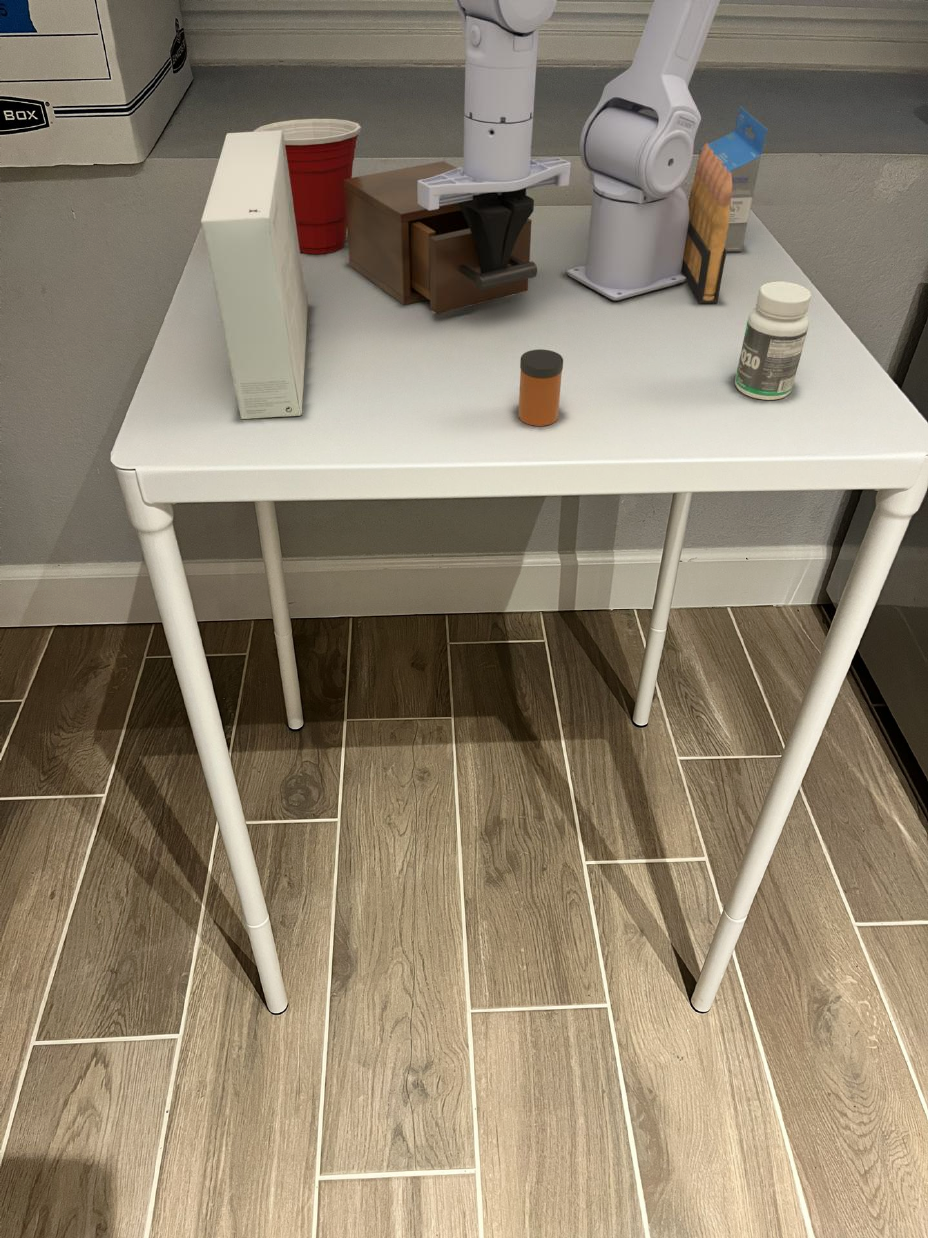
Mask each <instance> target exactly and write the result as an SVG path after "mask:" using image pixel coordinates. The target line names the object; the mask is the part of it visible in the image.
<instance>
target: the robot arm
mask: <svg viewBox="0 0 928 1238" xmlns="http://www.w3.org/2000/svg"><path fill="white" fill-rule="evenodd" d="M452 1H453V4H454V6H455V8H456V10H457V12H458V13H459V14H460V17H461V21H462V39H465V40H464V41H465V52H464V53H465V54H464V55H465V58H464V59H465V60H464V63H465V64H464V106H463V108H464V109H463V111H464V112H463V113H464V114H463V158H462V160H463V161H462V166H460V167H456V168H457V169H454V170H451V171H448V172H446V173H443V174H440V175H437V176H434V177H431V178H427V179H422V180H418V181H417V190H418V204H419V205H420V206H422V207H424V208H426V209H427V210H429V211H431V210H436V209H439V206H441V205H447V204H452V203H458V204H459V206H460V208H461V210H462V212H463V214H464V216H465V218H466V221H467V223H468V225H469V228H470V231H471V233H472V236H473V239H474V243H475V246H476V251H477V255H478V260H479V265H480V271H481V274H482V273H486V272H490V271H494V270H498V269H502V268H506V267H507V266H508V262H509V259H510V256H511V253H512V250H513V248H514V245H515V243H516V240H517V238H518V236H519V234H520V232H521V230H522V228H523V226H524V225H525V223H526V221H527V220H528V219H530V217H531V216H532V214H533V213H534V208H535V199H534V198H533V197H530V196H528V195H527V191H529V190H534V189H541V188H546V187H552V186H556V187H558V188H561V187H562V188H563V187H568V186H570V178H571V167H572V166H571V165H572V163H571V162H569V161H568V160H565V159H563V158H561V157H559V156H557V157H549V158H532V159H531V157H532V142H533V141H532V140H533V129H534V128H533V127H534V126H533V125H534V111H535V109H534V108H535V95H536V93H535V92H536V79H537V63H538V47H539V32H540V27H541V26H542V25H543V24H544V23H545V22H546V21H549V19H550V18H551V17H552V16H553V13H554V10H555V8H556V6H557V2H558V0H452ZM720 2H721V0H653V3H652V5H651V8H650V11H649V14H648V17H647V19H646V23H645V26H644V28H643V32H642V34H641V37H640V40H639V43H638V46H637V49H636V52H635V55H634V58H633V61H632V63H631V66H630V67H629V68H628V69H626V70H624V72H622V73H620V74H619V75H618V76H616V77H614V78H613V79H612V80H611V81H609V82H608V83H606V85H605V86H604V87H603V91H602V94H601V97H600V100H599V102H598V104H597V105H596V107H595V109H594V110H593V111H592V112H591V114H590V115H589V116H588V118H587V119H586V121H585V123H584V126H583V128H582V130H581V133H580V138H579V144H578V145H579V146H578V147H579V157H580V161H581V162H582V165H583V166H584V168H585V169H586V170H587V171H589V177H588V184H590V185H592V196H591V197H592V198H591V206H590V207H591V208H590V217H589V219H590V220H589V229H588V241H587V250H586V261H585V265H580V266H577V267H573V268H569V269H567V271H566V274H567V276H569V277H570V278H572V279H574V280H576V281H578V282H580V283H581V284H583V285H585V286H586V287H588V288H590V289H592V290H594V291H595V292H597V293H599V294H601V295H603V296H604V297H606V298H608V299H609V300H611V301H621V300H625V299H628V298H631V297H634V296H638V295H642V294H646V293H650V292H653V291H657V290H661V289H664V288H668V287H672V286H675V285H678V284H682V283H685V282H687V281H686V277H685V276H683V274H682V272H681V269H682V263H683V256H684V250H685V244H686V238H687V231H688V225H689V217H690V212H689V199H688V198H687V195H686V193H685V191H684V190H683V189H682V187H681V185H682V183H683V182H684V181H685V179H686V178H687V175H688V173H689V171H690V168H691V165H692V161H693V158H694V157H693V156H694V149H695V148H694V147H695V141H696V135H697V132H698V129H699V126H700V124H701V121H702V116H701V113H700V111H699V109H698V107H697V105H696V103H695V101H694V99H693V97H692V94H691V92H690V90H689V85H690V82H691V79H692V76H693V74H694V71H695V69H696V66H697V63H698V61H699V58H700V56H701V52H702V50H703V47H704V45H705V42H706V39H707V36H708V35H709V31H710V28H711V26H712V23H713V21H714V18H715V15H716V12H717V10H718V7H719V4H720ZM644 110H646V111H652V112H655V113H656V114H657V117H655V116H651V115H648V114H646V113H643V111H644Z"/></svg>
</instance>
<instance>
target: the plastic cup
mask: <svg viewBox="0 0 928 1238" xmlns="http://www.w3.org/2000/svg"><path fill="white" fill-rule="evenodd" d="M361 129H362V127H361V125H360V124H359V123H358V122H354V121H352V120H348V119H347V120H346V119H338V118H304V119H303V118H302V119H291V120H283V121H278V122H272V123H268V124H265V125H261V126H259V127H258V128H256V129H254V130H253V132H259V131H277V130H282V131H283V135H284V142H285V149H286V155H287V162H288V170H289V177H290V184H291V191H292V198H293V207H294V214H295V221H296V228H297V235H298V243H299V249H300V253H303V254H313V255H321V254H322V255H323V254H329V253H334V252H336V251H338V250H341V249H342V248H343V247H344V246H345V243H346V239H347V220H346V206H345V192H344V179H348V178H353V167H354V166H353V165H354V160H355V151H356V146H357V141H358V137H359V134H360V133H361Z"/></svg>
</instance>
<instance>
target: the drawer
mask: <svg viewBox="0 0 928 1238" xmlns="http://www.w3.org/2000/svg"><path fill="white" fill-rule="evenodd" d="M408 230H409V263H410V287H412V288H413V289H415V290H416V291H417V292H419V293H420V294H422V295H423V296H425V297H426V298H427V299H426V300H429V303H430V308H429V309H430V311H431V312H433V313H434V314H435V315H440V314H444V313H448V312H451V311H455V310H461V309H463V308H467V307H472V306H475V305H479V304H482V303H487V302H491V301H495V300H498V299H503V298H507V297H510V296H514V295H517V294H522V293H525V292H528V291H529V280H530V279H534V278H535V277H537V275H538V267H537V264H536V263H535V262H534V261H532V260H531V259H530V258H531V241H532V219H530V218H528V220H527V221H526V223H525V225H524V226H523V228H522V230H521V232H520V234H519V236H518V238H517V240H516V243H515V245H514V248H513V250H512V253H511V256H510V259H509V262H508V266H507V267H506V268H502V269H498V270H494V271H490V272H486V273H482V274H481V271H480V265H479V260H478V255H477V251H476V246H475V243H474V239H473V236H472V233H471V231H470V228H469V225H468V223H467V221H466V218H465V216H464V214H463V212H462V210H460V211H456V212H451V213H446V214H441V215H436V216H431V217H427V218H422V219H417V220H412V221H408Z"/></svg>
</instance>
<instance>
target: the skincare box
mask: <svg viewBox="0 0 928 1238" xmlns="http://www.w3.org/2000/svg"><path fill="white" fill-rule="evenodd" d="M217 162H218V163H217V165H216V169H215V172H214V176H213V179H212V183H211V186H210V190H209V193H208V196H207V200H206V203H205V206H204V210H203V213H202V216H201V219H200V223H201V228H202V232H203V238H204V242H205V243H204V244H205V248H206V252H207V257H208V262H209V267H210V273H211V277H212V283H213V287H214V292H215V296H216V302H217V306H218V312H219V317H220V320H221V321H220V322H221V325H222V330H223V335H224V340H225V346H226V349H227V350H226V351H227V355H228V360H229V367H230V371H231V375H232V380H233V386H234V390H235V395H236V399H237V406H238V409H239V410H238V411H239V415H240V419H241V420H245V419H246V420H249V419H262V418H263V419H264V418H278V417H281V418H282V417H301V415H302V414H303V397H304V387H305V386H304V384H305V381H304V380H305V379H304V378H305V369H306V368H305V366H306V349H307V329H308V315H309V314H308V313H309V302H308V295H307V289H306V282H305V276H304V270H303V264H302V256H301V252H300V249H299V243H298V235H297V228H296V221H295V214H294V207H293V198H292V191H291V184H290V177H289V170H288V162H287V155H286V149H285V142H284V135H283V131H282V130H277V131H259V132H254V131H243V132H241V131H240V132H227V133H226V135H225V139H224V142H223V145H222V149H221V151H220V156H219V159H218V161H217Z"/></svg>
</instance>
